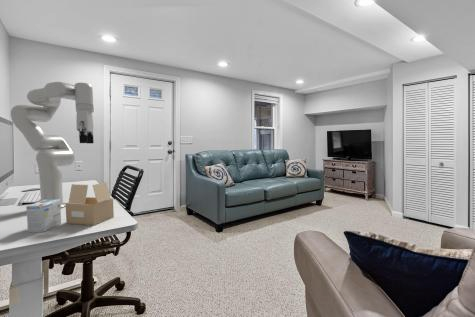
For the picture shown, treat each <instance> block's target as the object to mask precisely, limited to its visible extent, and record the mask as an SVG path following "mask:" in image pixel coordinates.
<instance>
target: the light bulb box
mask: <svg viewBox="0 0 475 317" xmlns="http://www.w3.org/2000/svg"><path fill="white" fill-rule="evenodd" d="M25 208H26V222H27V223H26V224H27V232H28V233H44V232H45V233H46V232H47V231H48V230H51V229H52V228H54V227H57V226H58V225H60V224H62V211H61V210H62V208H61V207H60V199H56V200H43V201H40V202H37V201H36V202H35V203H32V204H29V205H26V206H25Z"/></svg>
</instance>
